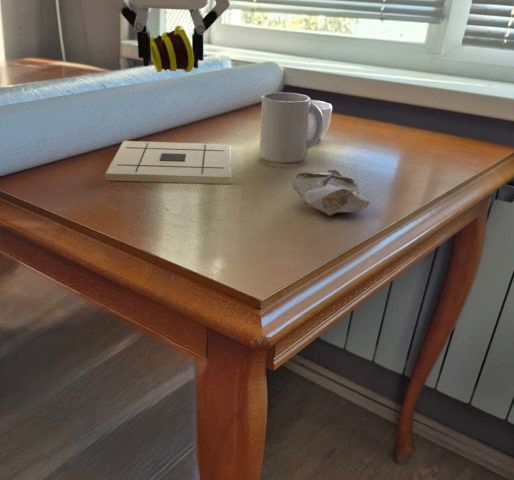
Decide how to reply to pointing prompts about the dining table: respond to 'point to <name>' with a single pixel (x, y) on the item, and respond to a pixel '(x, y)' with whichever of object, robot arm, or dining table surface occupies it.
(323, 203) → the stone
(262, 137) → the cup
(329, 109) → the teacup
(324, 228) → the dining table surface
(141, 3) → the robot arm
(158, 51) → the opera glasses
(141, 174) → the board
